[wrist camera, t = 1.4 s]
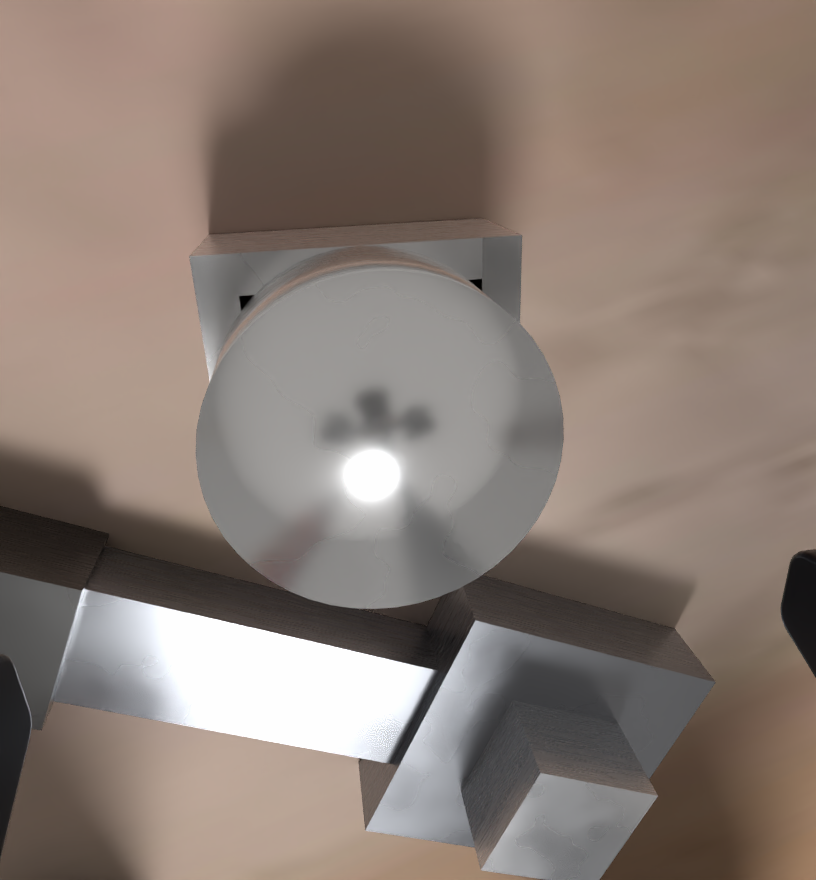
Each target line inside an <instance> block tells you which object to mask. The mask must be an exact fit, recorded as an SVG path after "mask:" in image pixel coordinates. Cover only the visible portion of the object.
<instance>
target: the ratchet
mask: <svg viewBox="0 0 816 880" xmlns="http://www.w3.org/2000/svg"><path fill="white" fill-rule="evenodd" d="M108 535H109V534H108V533H104V532H100V531H96V530H92V529H89V528H85V527H81V526H77V525H73V524H69V523H65V522H61V521H57V520H53V519H49V518H45V517H41V516H37V515H34V514H30V513H26V512H22V511H18V510H14V509H10V508H6V507H2V506H0V654H4V655H6V656H8V657H9V658H10V659H11V660H12V662H13V664H14V666H15V669H16V671H17V674H18V677H19V680H20V683H21V686H22V689H23V691H24V694H25V697H26V700H27V703H28V706H29V709H30V713H31V723H32V726H31V729H37V730H42V728H43V725H44V723H45V721H46V718H47V716H48V714H49V711H50V709H51V707H52V704H53V702H54V701H55V702H61V703H66V704H71V705H77V706H82V707H88V708H93V709H98V710H104V711H109V712H114V713H120V714H125V715H131V716H136V717H141V718H147V719H152V720H157V721H163V722H168V723H174V724H179V725H184V726H190V727H195V728H200V729H206V730H211V731H217V732H222V733H227V734H233V735H238V736H243V737H249V738H254V739H260V740H265V741H270V742H276V743H281V744H286V745H292V746H297V747H303V748H308V749H313V750H319V751H324V752H329V753H335V754H340V755H346V756H351V757H356V758H361V760H360V762H359V772H360V782H361V792H362V802H363V812H364V822H365V831H372V832H378V833H385V834H391V835H397V836H404V837H410V838H417V839H423V840H430V841H436V842H442V843H449V844H455V845H462V846H468V847H475V849H476V853H477V857H478V861H479V865H480V869H481V870H483V871H489V872H496V873H503V874H510V875H517V876H524V877H531V878H537V879H544V880H600V878H601V877H602V875H603V874H604V872H605V871H606V870H607V868H608V867H609V865H610V864H611V862H612V861H613V860H614V858H615V857H616V855H617V854H618V852H619V851H620V850H621V848H622V847H623V845H624V844H625V842H626V841H627V840H628V838H629V837H630V835H631V834H632V832H633V831H634V830H635V828H636V827H637V825H638V824H639V822H640V821H641V820H642V818H643V817H644V815H645V814H646V812H647V811H648V810H649V808H650V807H651V805H652V804H653V802H654V801H655V800H656V798H657V797H658V795H657V793H656V791H655V789H654V788H653V786H652V784H651V782H650V780H649V779H650V777H651V776H652V774H653V773H654V771H655V770H656V768H657V767H658V766H659V764H660V763H661V761H662V760H663V758H664V757H665V755H666V754H667V752H668V751H669V750H670V748H671V747H672V745H673V744H674V742H675V741H676V739H677V738H678V736H679V735H680V734H681V732H682V731H683V729H684V728H685V726H686V725H687V723H688V722H689V720H690V719H691V718H692V716H693V715H694V713H695V712H696V710H697V709H698V707H699V706H700V704H701V703H702V702H703V700H704V699H705V697H706V696H707V694H708V693H709V691H710V690H711V688H712V687H713V686H714V684H715V683H716V682H715V681H714V679H713V678H712V677H711V675H710V674H709V673H708V672H707V670H706V669H705V668H704V666H703V665H702V664H701V662H700V661H699V660H698V659H697V657H696V656H695V655H694V653H693V652H692V651H691V650H690V648H689V647H688V646H687V644H686V643H685V642H684V640H683V639H682V638H681V637H680V635H679V634H678V633H677V631H676V630H675V629H674V628H670V627H666V626H663V625H659V624H656V623H652V622H649V621H645V620H641V619H638V618H634V617H631V616H627V615H623V614H620V613H616V612H613V611H609V610H605V609H602V608H598V607H595V606H591V605H588V604H584V603H580V602H577V601H573V600H570V599H566V598H562V597H559V596H555V595H552V594H548V593H544V592H541V591H537V590H534V589H530V588H527V587H523V586H519V585H516V584H512V583H509V582H505V581H501V580H498V579H494V578H491V577H487V576H483V575H481V576H480V577H479V578H477V579H475V580H474V581H472V582H470V583H468V584H466V585H464V586H463V587H461V588H459V589H457V590H454V591H452V592H450V593H447V594H445V595H442V597H441V599H440V601H439V603H438V605H437V607H436V609H435V611H434V613H433V615H432V617H431V619H430V621H429V623H428V625H427V626H424V625H420V624H416V623H412V622H408V621H404V620H400V619H396V618H392V617H388V616H384V615H380V614H376V613H372V612H368V611H364V610H360V609H356V608H348V607H341V606H334V605H329V604H325V603H322V602H318V601H314V600H310V599H308V598H305V597H303V596H300V595H298V594H295V593H291V592H287V591H283V590H279V589H275V588H271V587H267V586H263V585H259V584H255V583H251V582H247V581H243V580H239V579H235V578H231V577H227V576H223V575H219V574H215V573H211V572H207V571H203V570H199V569H195V568H191V567H187V566H183V565H179V564H175V563H171V562H167V561H163V560H159V559H155V558H151V557H147V556H143V555H139V554H135V553H131V552H127V551H123V550H119V549H115V548H111V547H107V546H105V545H106V542H107V539H108Z"/></svg>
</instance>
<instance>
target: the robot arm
mask: <svg viewBox="0 0 816 880" xmlns="http://www.w3.org/2000/svg"><path fill="white" fill-rule="evenodd" d="M781 617H782V621H783V623H784V626H785V628H786V630H787V632H788V633H789V635H790V637H791V638H792V640H793V641H794V643H795V645H796V646H797V648H798V649H799V651H800V653H801V654H802V656H803V658H804V659H805V661H806V662H807V664H808V666H809V667H810V669H811V671H812V672H813V674H814V675H815V677H816V549H813V550H806V551H800V552H798V553H796V554H795V555H794V556H793V557H792V559H791V561H790V564H789V569H788V574H787V578H786V583H785V588H784V593H783V598H782V602H781ZM31 726H32V723H31V713H30V709H29V706H28V703H27V700H26V697H25V694H24V691H23V689H22V686H21V683H20V680H19V677H18V674H17V671H16V669H15V666H14V664H13V662H12V660H11V659H10V658H9V657H8V656H6V655H4V654H0V860H1V856H2V852H3V848H4V844H5V840H6V836H7V831H8V827H9V823H10V819H11V815H12V810H13V806H14V802H15V798H16V794H17V789H18V785H19V781H20V777H21V773H22V768H23V764H24V760H25V756H26V752H27V747H28V743H29V739H30V734H31Z"/></svg>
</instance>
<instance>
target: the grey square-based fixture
mask: <svg viewBox="0 0 816 880" xmlns="http://www.w3.org/2000/svg"><path fill="white" fill-rule="evenodd" d="M521 255H522V235H520V234H518V233H516V232H514V231H511V230H509V229H507V228H504V227H502V226H500V225H497V224H495V223H493V222H490V221H488V220H486V219H483V218H477V219H460V220H444V221H427V222H410V223H394V224H377V225H360V226H344V227H327V228H311V229H294V230H277V231H261V232H244V233H228V234H211V235H208V236H207V237H206V238H205V239H204V240H203V242H202V243H201V244H200V245H199V246H198V247H197V248H196V249H195V250H194V252H193V253H192V254H191V255H190V256H189V258H190V264H191V270H192V276H193V282H194V288H195V294H196V300H197V306H198V312H199V319H200V325H201V331H202V337H203V343H204V349H205V355H206V361H207V367H208V373H209V379H210V383H209V386H208V389H207V391H206V394H205V397H204V400H203V403H202V406H201V410H200V415H199V420H198V426H197V434H196V461H197V470H198V477H199V481H200V485H201V489H202V493H203V497H204V499H205V502H206V504H207V507H208V509H209V511H210V514H211V516H212V518H213V520H214V522H215V523H216V525H217V527H218V528H219V530H220V531H221V533H222V535H223V536H224V538H225V539H226V540H227V541H228V543H229V544H230V545H231V546H232V548H233V549H234V550H235V551H236V553H237V554H238V555H239V556H240V557H242V558H243V559H244V560H245V561H246V562H247V563H248V564H249V565H250V566H251V567H252V568H253V569H255V570H256V571H257V572H259V573H260V574H262V575H263V576H264V577H266V578H267V579H269V580H270V581H272V582H273V583H275V584H277V585H279V586H281V587H283V588H284V589H286V590H288V591H290V592H293V593H295V594H298V595H300V596H303V597H305V598H308V599H310V600H314V601H318V602H322V603H325V604H329V605H334V606H341V607H348V608H362V609H380V608H394V607H400V606H406V605H411V604H417V603H420V602H424V601H427V600H431V599H434V598H437V597H440V596H442V595H445V594H447V593H450V592H452V591H454V590H457V589H459V588H461V587H463V586H464V585H466V584H468V583H470V582H472V581H474V580H475V579H477V578H479V577H480V576H481V575H483V574H484V573H486V572H487V571H489V570H490V569H492V568H493V567H494V566H496V565H497V564H498V563H499V562H500V561H501V560H502V559H504V558H505V557H506V556H507V555H508V554H509V553H510V552H511V551H512V550H513V549H514V548H515V547H516V546H517V545H518V544H519V543H520V542H521V540H522V539H523V538H524V537H525V536H526V535H527V533H528V532H529V530H530V529H531V528H532V526H533V525H534V523H535V522H536V521H537V519H538V517H539V516H540V514H541V512H542V510H543V508H544V507H545V505H546V503H547V501H548V499H549V496H550V494H551V491H552V489H553V486H554V484H555V481H556V478H557V474H558V470H559V466H560V462H561V456H562V448H563V440H564V436H563V413H562V407H561V401H560V395H559V392H558V389H557V386H556V382H555V379H554V376H553V374H552V371H551V369H550V367H549V365H548V363H547V361H546V359H545V357H544V355H543V353H542V352H541V350H540V349H539V347H538V346H537V344H536V343H535V341H534V340H533V338H532V337H531V336H530V335H529V333H528V332H527V331H526V330H525V329H524V328H523V327H522V326H521V325H520V296H521ZM253 295H254V296H253Z"/></svg>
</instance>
